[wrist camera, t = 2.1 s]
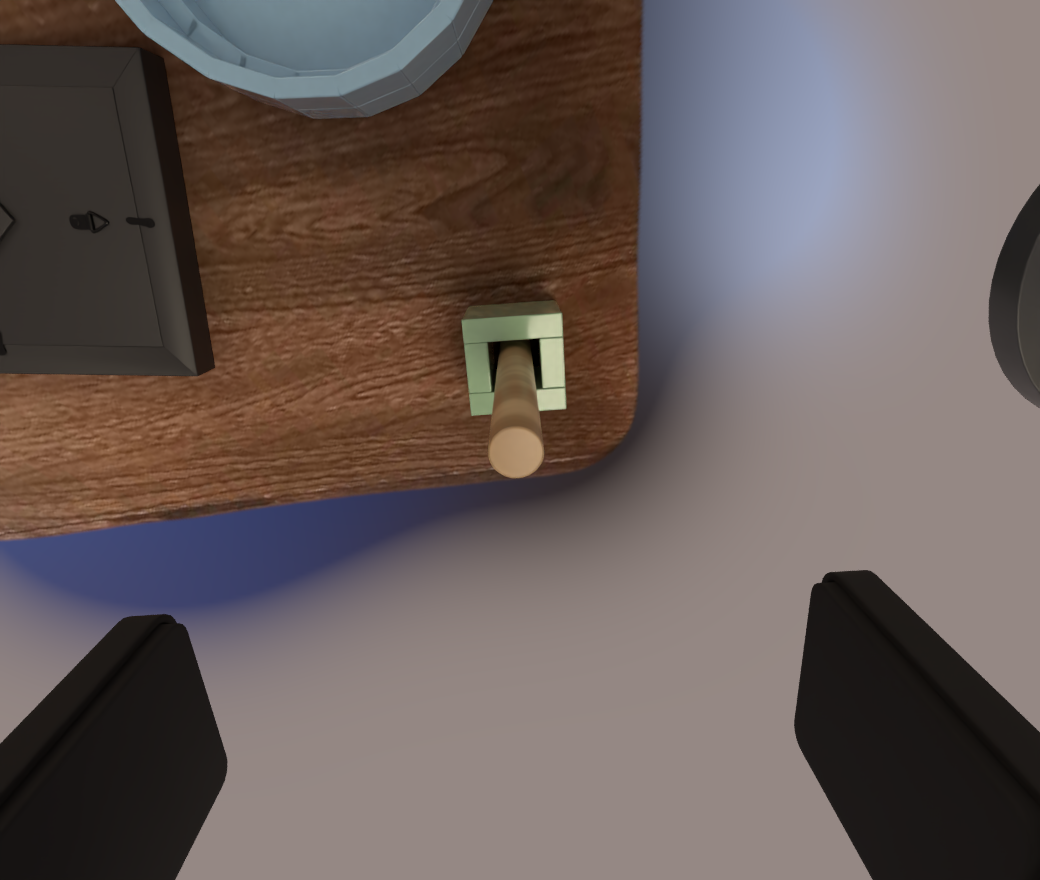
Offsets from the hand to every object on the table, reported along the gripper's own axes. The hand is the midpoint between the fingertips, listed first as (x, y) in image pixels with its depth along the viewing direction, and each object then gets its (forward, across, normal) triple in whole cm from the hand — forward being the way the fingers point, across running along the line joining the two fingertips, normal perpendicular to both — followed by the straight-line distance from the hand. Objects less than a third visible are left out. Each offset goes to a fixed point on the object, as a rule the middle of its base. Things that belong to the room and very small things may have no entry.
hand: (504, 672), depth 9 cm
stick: (+27, 0, 0) cm, 27 cm away
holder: (+27, 0, 0) cm, 27 cm away
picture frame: (+28, +27, -8) cm, 40 cm away
